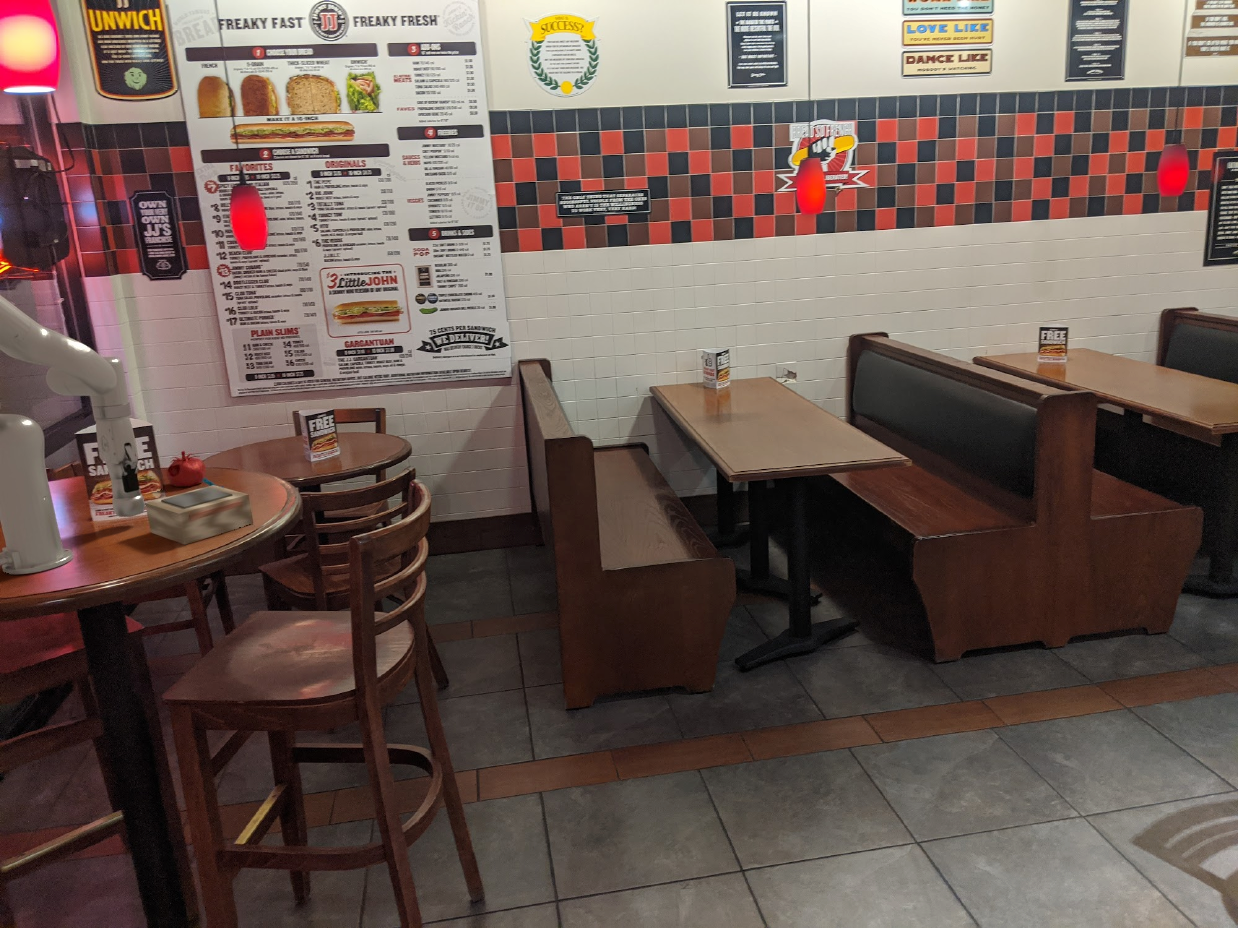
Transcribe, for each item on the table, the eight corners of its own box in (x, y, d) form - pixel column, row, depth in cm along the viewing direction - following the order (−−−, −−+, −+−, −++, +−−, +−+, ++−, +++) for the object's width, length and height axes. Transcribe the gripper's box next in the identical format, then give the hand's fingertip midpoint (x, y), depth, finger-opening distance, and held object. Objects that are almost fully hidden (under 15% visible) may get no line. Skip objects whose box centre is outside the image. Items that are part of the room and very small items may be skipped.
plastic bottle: (137, 519, 210) (123, 433, 205) (108, 520, 210) (93, 435, 206) (152, 511, 216) (138, 428, 212) (123, 512, 217) (109, 429, 212)
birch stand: (185, 544, 198) (179, 512, 196) (150, 532, 208) (144, 501, 206) (254, 524, 209) (249, 492, 208) (218, 513, 220) (213, 483, 218)
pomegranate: (204, 477, 255) (199, 445, 253) (210, 484, 247) (205, 450, 245) (165, 483, 250) (160, 450, 248) (170, 491, 242) (165, 456, 240)
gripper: (79, 412, 210) (93, 488, 214) (111, 418, 200) (125, 498, 204) (113, 406, 216) (126, 481, 220) (146, 412, 205) (159, 490, 209)
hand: (126, 488), depth 212 cm, fingers closed on plastic bottle, 5 cm apart
